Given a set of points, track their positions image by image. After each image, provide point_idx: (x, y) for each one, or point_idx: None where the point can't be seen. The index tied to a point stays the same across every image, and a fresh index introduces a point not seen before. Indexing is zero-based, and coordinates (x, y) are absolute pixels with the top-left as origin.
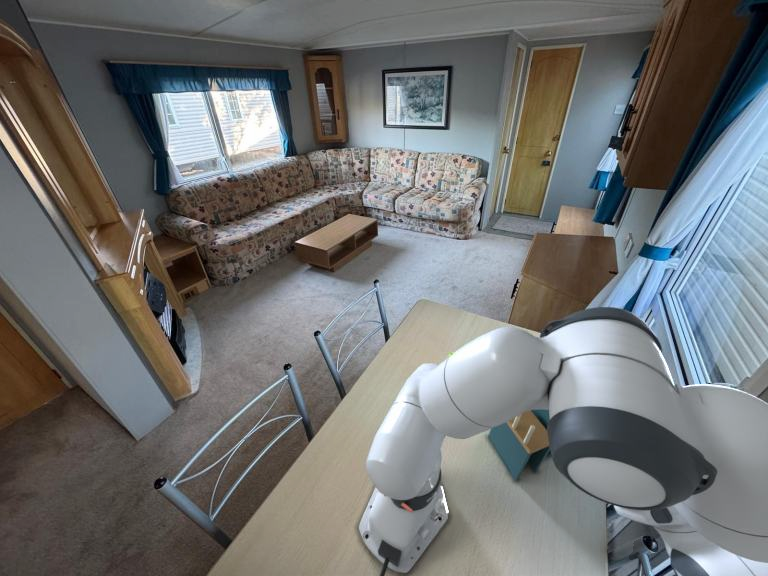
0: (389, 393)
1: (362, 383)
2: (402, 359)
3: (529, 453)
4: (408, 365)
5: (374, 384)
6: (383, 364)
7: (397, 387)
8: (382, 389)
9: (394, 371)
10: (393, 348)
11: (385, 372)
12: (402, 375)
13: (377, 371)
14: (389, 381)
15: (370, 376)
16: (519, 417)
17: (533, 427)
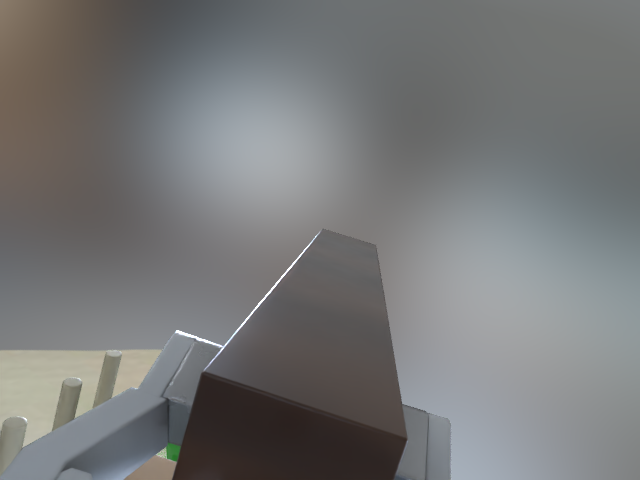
0: (17, 390)
1: (4, 351)
2: (134, 374)
3: None
4: (129, 386)
5: (20, 364)
6: (89, 358)
7: (48, 394)
8: (18, 378)
9: (88, 375)
10: (145, 355)
11: (71, 366)
12: (91, 388)
13: (61, 357)
14: (52, 379)
15: (36, 354)
16: (56, 419)
17: (12, 423)
